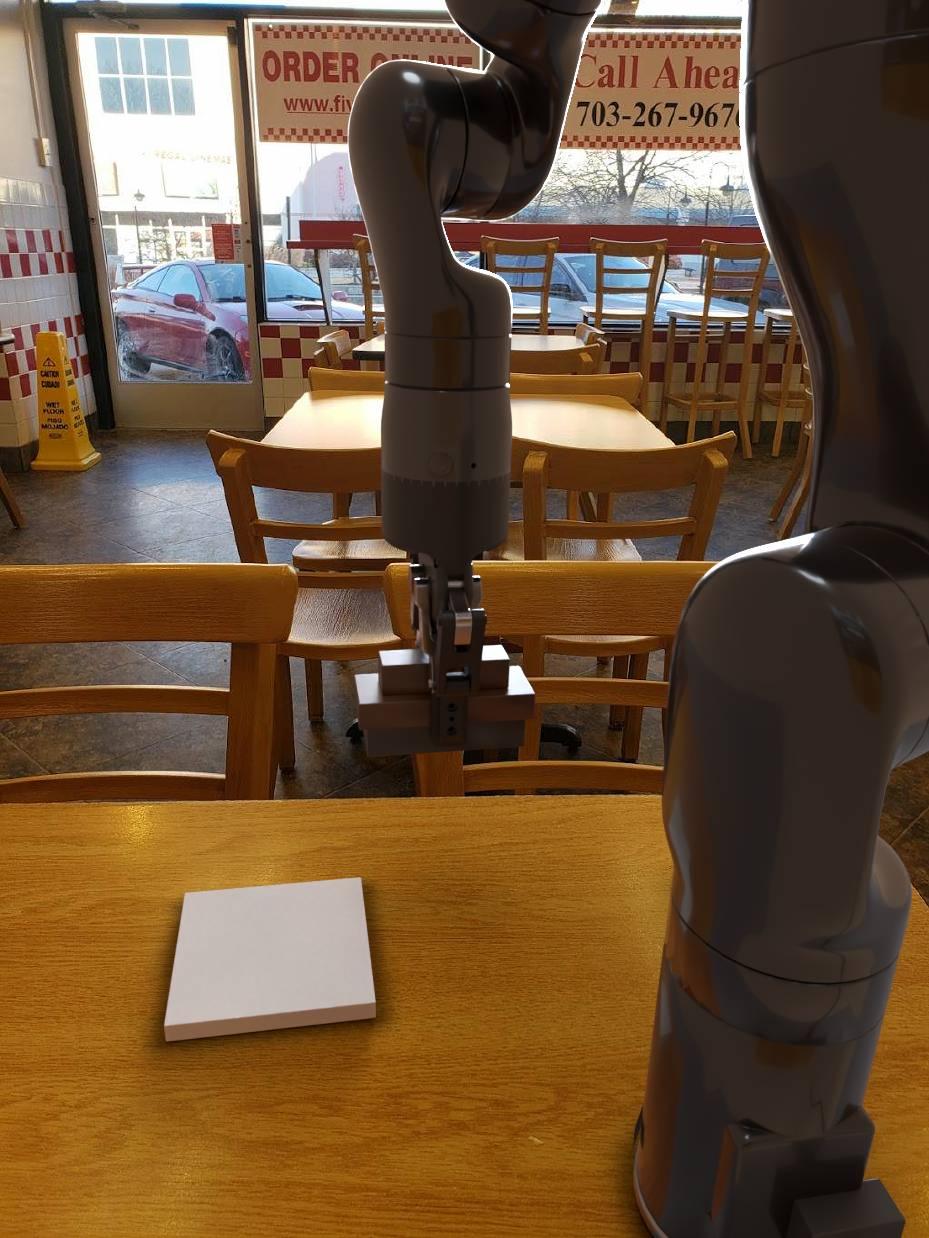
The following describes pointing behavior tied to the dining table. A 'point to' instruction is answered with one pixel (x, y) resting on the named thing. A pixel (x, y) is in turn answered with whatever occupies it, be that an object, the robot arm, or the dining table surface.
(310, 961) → the tile
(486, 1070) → the dining table surface
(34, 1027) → the dining table surface
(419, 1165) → the dining table surface
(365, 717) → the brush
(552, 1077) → the dining table surface
